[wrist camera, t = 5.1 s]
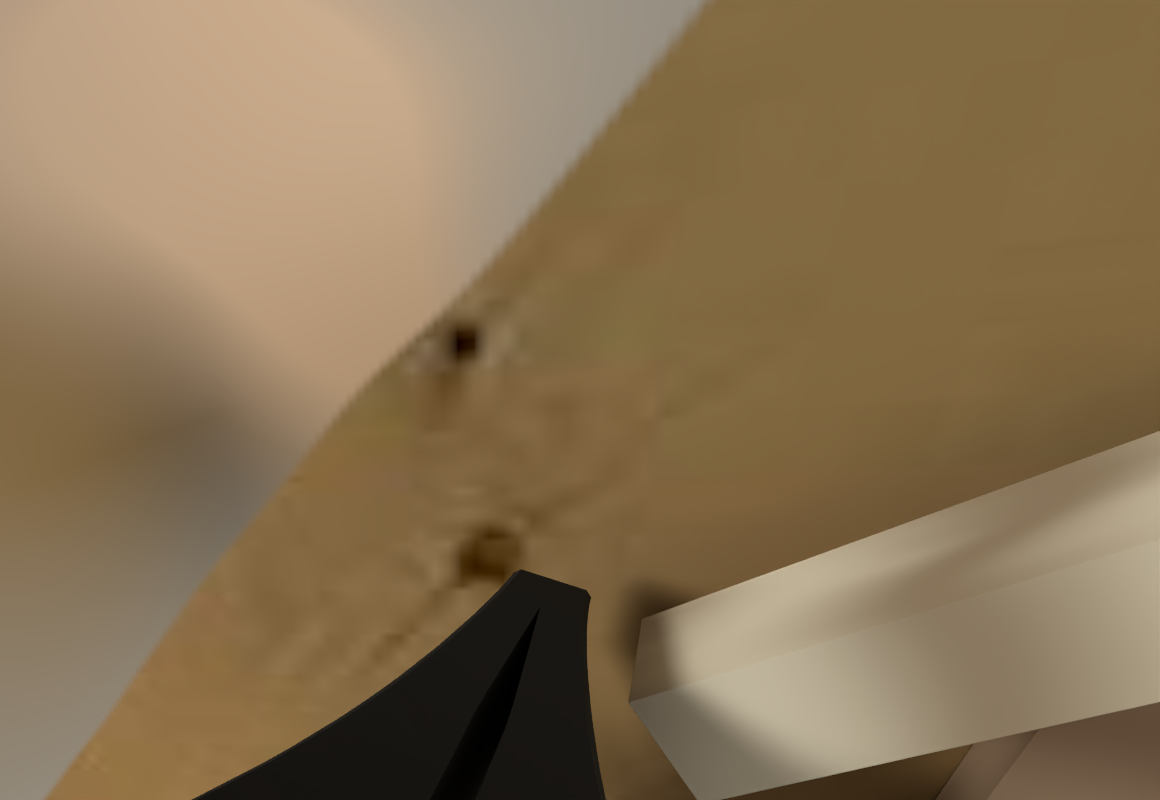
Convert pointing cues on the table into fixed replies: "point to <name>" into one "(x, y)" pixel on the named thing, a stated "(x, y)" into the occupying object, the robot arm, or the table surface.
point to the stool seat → (1067, 761)
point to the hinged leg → (918, 635)
